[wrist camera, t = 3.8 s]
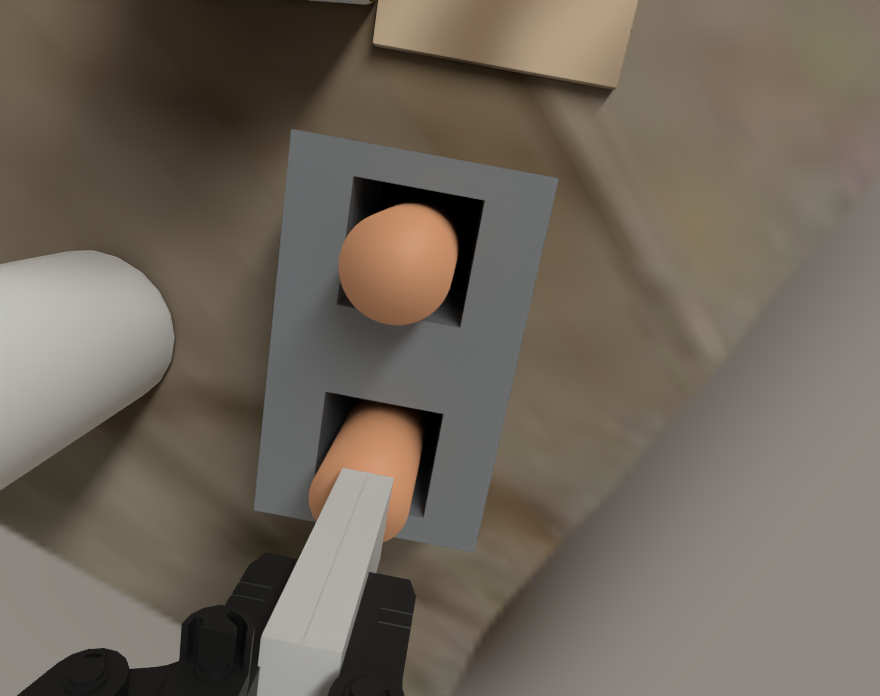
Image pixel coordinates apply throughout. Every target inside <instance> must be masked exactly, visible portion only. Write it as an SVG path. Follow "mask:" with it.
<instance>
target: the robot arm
mask: <svg viewBox="0 0 880 696" xmlns="http://www.w3.org/2000/svg"><path fill="white" fill-rule="evenodd" d="M393 481H394V478H393V477H388V476H383V475H378V474H373V473H368V472H363V471H357V470H352V469H347V468H342V470H341V472H340V474H339V476H338V478H337V480H336V482H335V485H334V487H333V489H332V491H331V493H330V495H329V497H328V499H327V501H326V503H325V505H324V507H323V509H322V511H321V514H320V516H319V518H318V520H317V522H316V524H315V526H314V528H313V530H312V532H311V534H310V536H309V538H308V540H307V543H306V545H305V547H304V549H303V551H302V553H301V555H300V557H299V559H294V558H289V557H284V556H279V555H274V554H269V553H265V554H264V555H262V556H261V557H260V558H258V559H257V560H255V561H254V562H253V563H251V564H250V565H249V566H248V568H247V570H246V571H245V573H244V575H243V576H242V578H241V580H240V583H238V585H237V586H236V588H235V590H234V591H233V594H232V596H230V598H229V600H228V601H227V603H226V605H225V606H224V605H216V606H211V607H207V608H203V609H201V610H199V611H197V612H195V613H193V614H191V615H190V616H189V617H188V618H187V619H186V620H185V621H184V622H183V623H182V629H181V644H180V659H179V661H178V662H175V663H172V664H169V665H165V666H159V667H151V668H137V669H129V666H128V663H127V660H126V658H125V657H124V656H122V655H121V654H120V653H118V652H117V651H114V650H109V649H105V648H99V649H88V650H84V651H81V652H78V653H75V654H72V655H70V656H68V657H67V658H65V659H64V660H62V661H60V662H59V663H57V664H56V665H55V666H53V667H52V668H51V669H50V670H48V671H47V672H46V673H45V674H43V675H42V676H41V677H40V678H38V679H37V680H36V681H35V682H33V683H32V684H31V685H30V686H28V687H27V688H26V689H25V690H23V691H22V692H21V693H20V694H18V695H17V696H404V692H403V689H402V679H403V673H404V667H405V661H406V654H407V648H408V642H409V636H410V629H411V623H412V617H413V611H414V605H415V599H416V595H415V592H414V590H413V587H412V584H411V582H410V580H408V579H403V578H398V577H392V576H387V575H382V574H377V573H376V572H377V568H378V564H379V561H380V556H381V551H382V545H383V539H384V533H385V527H386V522H387V516H388V510H389V504H390V499H391V493H392V487H393Z"/></svg>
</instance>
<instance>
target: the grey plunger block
mask: <svg viewBox="0 0 880 696" xmlns="http://www.w3.org/2000/svg"><path fill="white" fill-rule="evenodd" d="M558 180H559V178H554V177H549V176H543V175H538V174H533V173H527V172H522V171H516V170H511V169H505V168H500V167H495V166H489V165H484V164H478V163H473V162H468V161H462V160H457V159H451V158H446V157H441V156H435V155H430V154H424V153H419V152H414V151H408V150H403V149H397V148H392V147H387V146H381V145H376V144H370V143H365V142H359V141H354V140H349V139H343V138H338V137H332V136H327V135H322V134H316V133H311V132H305V131H300V130H295V129H291V138H290V148H289V158H288V168H287V178H286V188H285V198H284V208H283V219H282V229H281V239H280V249H279V259H278V269H277V279H276V289H275V299H274V310H273V320H272V330H271V340H270V350H269V360H268V370H267V380H266V391H265V401H264V411H263V421H262V431H261V441H260V451H259V461H258V471H257V482H256V492H255V502H254V510H255V511H260V512H265V513H270V514H276V515H281V516H286V517H291V518H296V519H302V520H307V521H312V522H316V521H315V520H314V518H313V516H312V513H311V510H310V506H309V490H310V486H311V484H312V481H313V479H314V477H315V476H316V474H317V472H318V470H319V468H320V466H321V464H322V463H323V461H324V459H325V457H326V455H327V453H328V452H329V450H330V448H331V446H332V444H333V442H334V440H335V439H336V437H337V435H338V433H339V431H340V429H341V427H342V426H343V424H344V422H345V420H346V418H347V416H348V415H349V413H350V408H351V401H352V397H357V398H362V399H367V400H372V401H378V402H383V403H388V404H393V405H399V406H404V407H409V408H414V409H420V410H425V411H430V412H436V413H441V419H440V424H439V429H438V434H437V439H436V444H434V443H429V442H424V443H423V448H422V453H421V457H420V462H419V467H418V472H417V477H416V481H415V486H414V491H413V496H412V501H411V505H410V510H409V514H408V518H407V520H406V523H405V525H404V526H403V528H402V529H401V530H400V531H399V533H398V534H396V535H395V536H394V537H395V538H400V539H406V540H411V541H416V542H421V543H426V544H432V545H437V546H442V547H447V548H452V549H458V550H463V551H468V552H473V553H474V552H475V547H476V543H477V538H478V534H479V529H480V525H481V521H482V516H483V512H484V507H485V503H486V498H487V494H488V490H489V485H490V481H491V476H492V472H493V467H494V463H495V459H496V454H497V450H498V445H499V441H500V436H501V432H502V428H503V423H504V419H505V414H506V410H507V405H508V401H509V397H510V392H511V388H512V383H513V379H514V374H515V370H516V366H517V361H518V357H519V352H520V348H521V343H522V339H523V335H524V330H525V326H526V321H527V317H528V312H529V308H530V304H531V299H532V295H533V290H534V286H535V281H536V277H537V273H538V268H539V264H540V259H541V255H542V250H543V246H544V242H545V237H546V233H547V228H548V224H549V219H550V215H551V211H552V206H553V202H554V197H555V193H556V188H557V184H558ZM383 182H388V183H394V184H399V185H405V186H410V187H415V188H421V189H426V190H432V191H437V192H442V193H448V194H453V195H458V196H464V197H469V198H475V199H480V200H482V205H481V211H480V216H479V221H478V226H477V231H476V237H475V242H474V247H473V252H472V257H471V263H470V268H469V273H468V278H467V283H466V289H465V292H463V291H458V290H453V289H449V291H448V294H447V296H446V297H445V299H444V301H443V302H442V304H441V305H440V306H439V307H438V308H437V309H436V310H435V311H434V312H433V313H432V314H430V315H429V316H428V317H426V318H424V319H422V320H420V321H418V322H415V323H411V324H407V325H388V324H384V323H380V322H377V321H375V320H372V319H370V318H369V317H367V316H365V315H364V314H363V313H361V312H360V311H359V310H358V309H357V308H356V307H355V306H354V305H353V304H352V303H351V302H350V300H349V299H348V297H347V296H346V294H345V292H344V290H343V287H342V284H341V281H340V276H339V267H338V266H339V256H340V251H341V248H342V245H343V243H344V241H345V239H346V237H347V236H348V234H349V233H350V231H351V230H352V229H353V228H354V227H355V226H356V225H357V224H358V223H360V222H361V221H362V220H364V219H365V218H367V217H369V216H371V215H373V214H376V213H378V212H379V206H380V199H381V192H382V185H383Z"/></svg>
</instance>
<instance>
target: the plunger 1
mask: <svg viewBox="0 0 880 696" xmlns="http://www.w3.org/2000/svg"><path fill="white" fill-rule="evenodd" d="M459 249H460V240H459V234H458V231H457V228H456V226H455V224H454V222H453V220H452V219H451V218H450V216H449V215H448V214H447V213H446V212H445V211H444V210H442V209H441V208H440V207H438V206H436V205H434V204H432V203H429V202H425V201H418V200H417V201H407V202H403V203H400V204H398V205H395V206H393V207H390V208H388V209H386V210H383V211H381V212H378V213H376V214H373V215H371V216H369V217H367V218H365V219H364V220H362V221H361V222H360V223H358V224H357V225H356V226H355V227H354V228H353V229H352V230H351V231H350V233H349V234H348V236H347V237H346V239H345V241H344V243H343V245H342V248H341V251H340V256H339V266H338V267H339V276H340V281H341V284H342V287H343V290H344V292H345V294H346V296H347V297H348V299H349V300H350V302H351V303H352V304H353V305H354V306H355V307H356V308H357V309H358V310H359V311H360V312H361V313H363V314H364V315H365V316H367V317H369V318H370V319H372V320H375V321H377V322H380V323H384V324H388V325H407V324H411V323H415V322H418V321H420V320H422V319H424V318H426V317H428V316H429V315H430V314H432V313H433V312H434V311H435V310H436V309H437V308H438V307H439V306H440V305H441V304H442V302H443V301H444V299H445V297H446V296H447V294H448V291H449V289H450V286H451V282H452V278H453V274H454V270H455V266H456V263H457V259H458V255H459Z"/></svg>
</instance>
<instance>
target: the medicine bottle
mask: <svg viewBox="0 0 880 696" xmlns="http://www.w3.org/2000/svg"><path fill="white" fill-rule="evenodd" d="M310 1H324V2H337V3H351V4H364V5H367V4H371V3H372V2H373V1H374V0H310Z"/></svg>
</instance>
